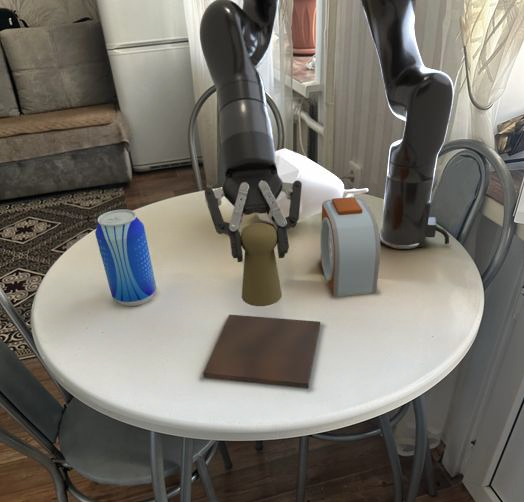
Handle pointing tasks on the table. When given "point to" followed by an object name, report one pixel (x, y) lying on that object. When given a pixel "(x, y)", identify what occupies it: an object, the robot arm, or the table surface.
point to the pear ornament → (307, 184)
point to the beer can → (125, 257)
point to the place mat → (265, 351)
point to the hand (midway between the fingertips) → (261, 258)
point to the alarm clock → (349, 246)
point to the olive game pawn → (260, 265)
